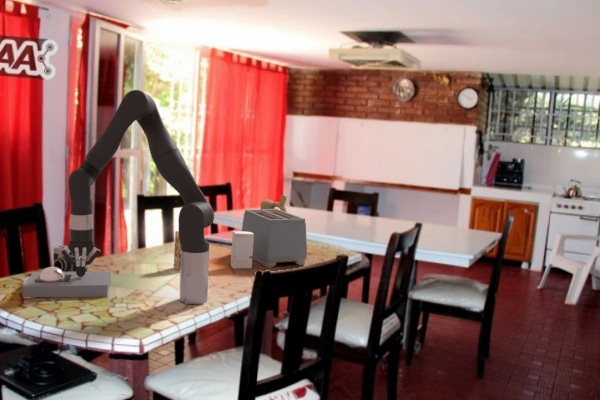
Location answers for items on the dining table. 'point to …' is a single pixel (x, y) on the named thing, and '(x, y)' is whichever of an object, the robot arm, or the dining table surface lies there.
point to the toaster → (276, 236)
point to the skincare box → (242, 249)
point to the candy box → (177, 252)
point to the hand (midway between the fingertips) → (80, 276)
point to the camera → (64, 260)
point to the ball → (52, 275)
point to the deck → (70, 285)
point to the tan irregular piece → (274, 204)
